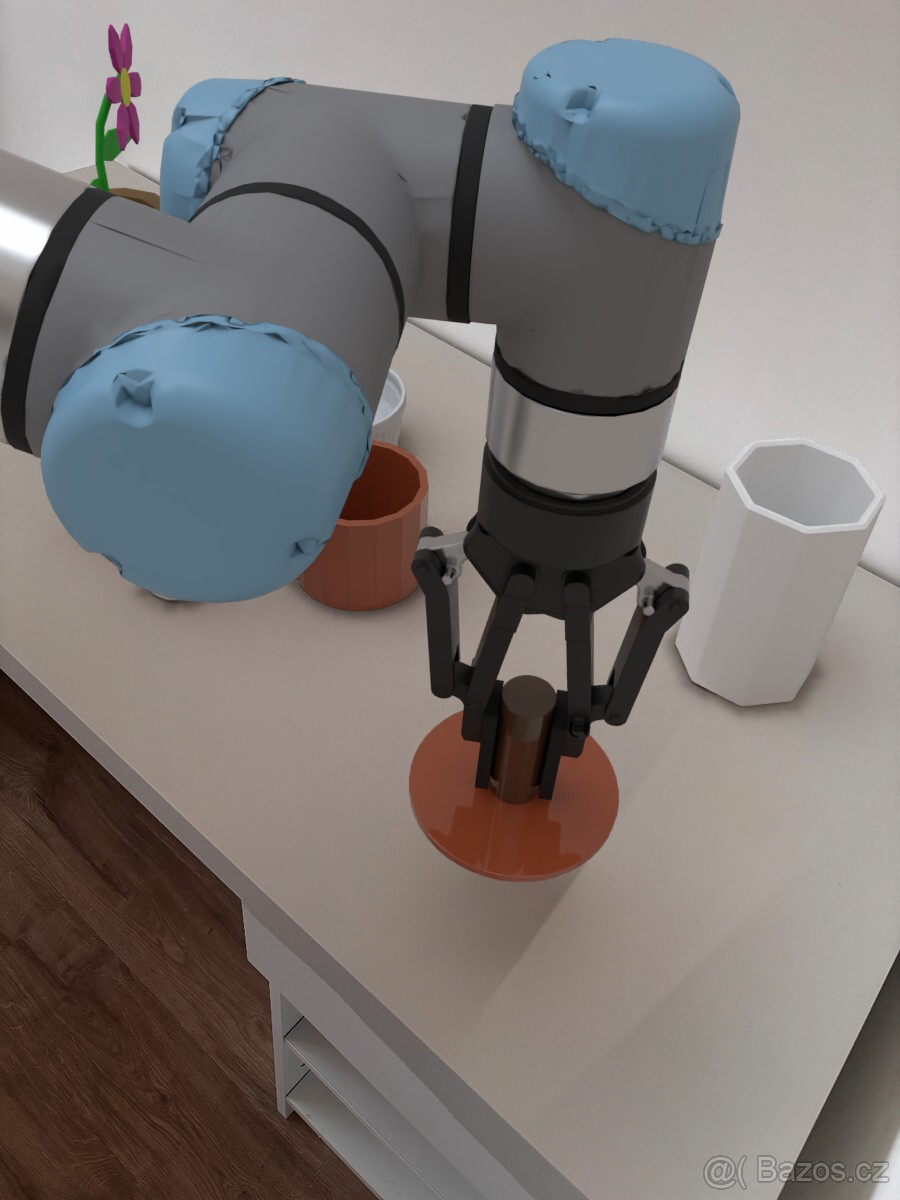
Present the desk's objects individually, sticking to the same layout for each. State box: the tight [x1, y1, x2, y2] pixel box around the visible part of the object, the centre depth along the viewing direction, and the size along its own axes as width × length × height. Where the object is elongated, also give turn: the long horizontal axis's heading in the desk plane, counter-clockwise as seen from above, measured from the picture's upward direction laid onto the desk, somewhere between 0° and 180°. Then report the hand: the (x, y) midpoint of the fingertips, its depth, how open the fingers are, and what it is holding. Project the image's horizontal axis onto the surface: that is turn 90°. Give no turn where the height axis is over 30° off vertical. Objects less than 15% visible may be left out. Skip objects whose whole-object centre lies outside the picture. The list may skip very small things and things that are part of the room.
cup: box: [675, 437, 887, 707], centre depth 81 cm, size 11×11×18 cm
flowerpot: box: [88, 22, 161, 211], centre depth 113 cm, size 14×14×30 cm
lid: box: [408, 674, 620, 883], centre depth 60 cm, size 12×12×9 cm
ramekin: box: [371, 368, 407, 446], centre depth 103 cm, size 13×13×7 cm
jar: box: [296, 439, 430, 612], centre depth 90 cm, size 11×11×10 cm
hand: (515, 774), depth 62 cm, fingers closed on lid, 3 cm apart
